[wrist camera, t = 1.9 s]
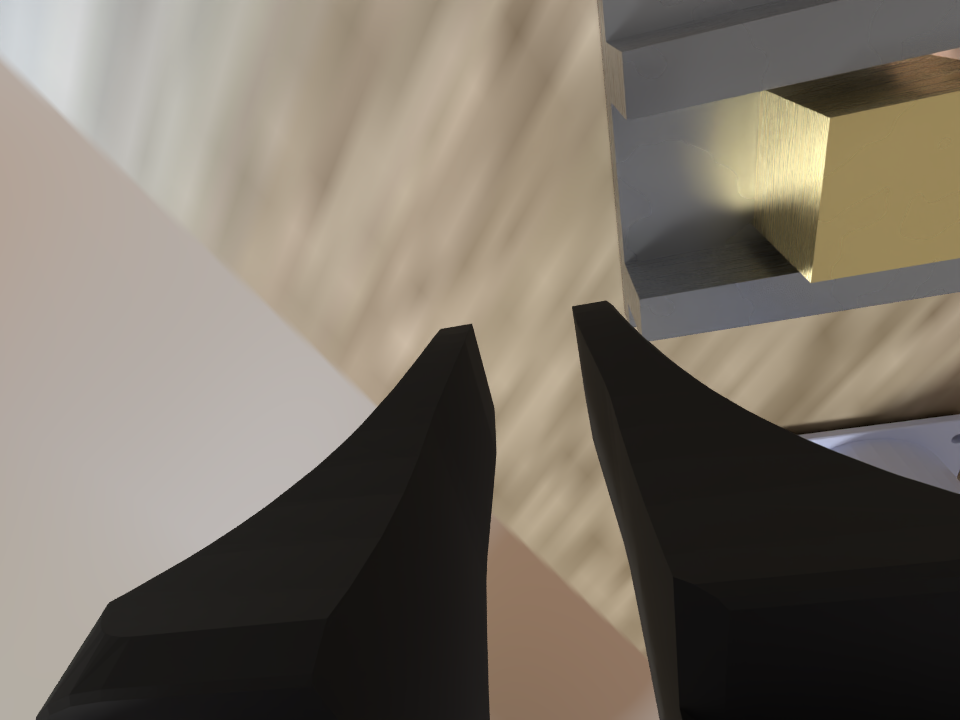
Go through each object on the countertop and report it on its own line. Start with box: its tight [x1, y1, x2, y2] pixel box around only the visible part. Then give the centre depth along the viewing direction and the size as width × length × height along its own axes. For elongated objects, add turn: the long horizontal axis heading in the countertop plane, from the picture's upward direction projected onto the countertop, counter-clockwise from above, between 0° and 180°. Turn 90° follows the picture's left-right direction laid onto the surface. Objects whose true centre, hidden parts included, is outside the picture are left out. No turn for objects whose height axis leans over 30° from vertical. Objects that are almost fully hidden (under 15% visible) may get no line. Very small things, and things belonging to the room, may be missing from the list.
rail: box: [597, 0, 960, 341], centre depth 15 cm, size 10×16×4 cm, turn 102°
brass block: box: [753, 54, 960, 283], centre depth 14 cm, size 4×4×4 cm
